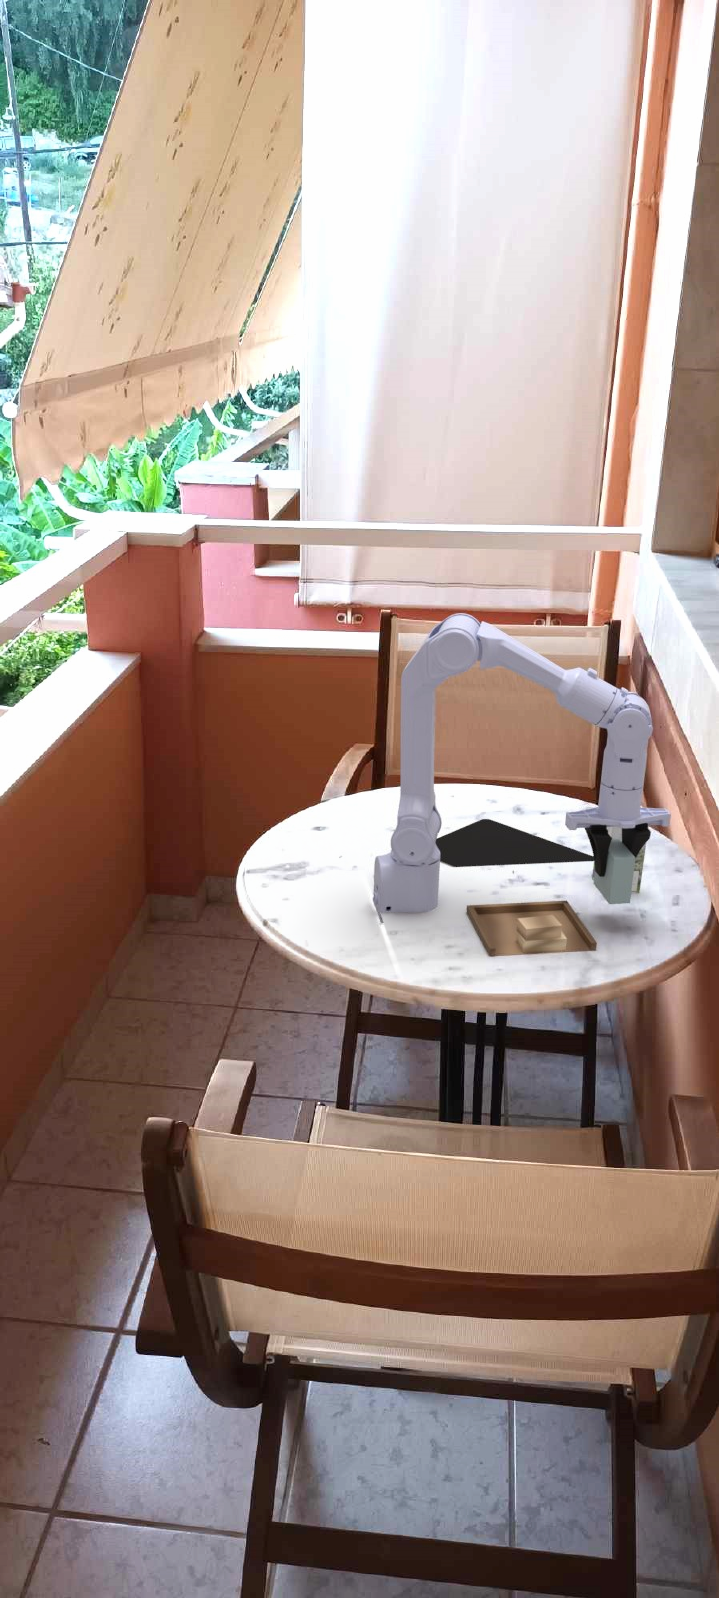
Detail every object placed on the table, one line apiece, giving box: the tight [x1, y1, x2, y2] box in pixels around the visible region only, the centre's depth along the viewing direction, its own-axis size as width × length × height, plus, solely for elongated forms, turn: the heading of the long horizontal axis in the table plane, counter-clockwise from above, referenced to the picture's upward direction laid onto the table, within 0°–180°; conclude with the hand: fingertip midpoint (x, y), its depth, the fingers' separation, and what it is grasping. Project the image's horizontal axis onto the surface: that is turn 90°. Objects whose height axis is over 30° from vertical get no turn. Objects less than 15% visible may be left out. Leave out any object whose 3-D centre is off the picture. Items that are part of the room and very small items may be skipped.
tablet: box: [435, 818, 594, 868], centre depth 188 cm, size 27×1×20 cm
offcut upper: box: [517, 915, 562, 941], centre depth 156 cm, size 5×3×2 cm, turn 105°
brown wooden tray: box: [466, 900, 598, 957], centre depth 161 cm, size 15×13×3 cm
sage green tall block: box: [593, 838, 635, 905], centre depth 161 cm, size 3×6×7 cm, turn 9°
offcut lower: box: [516, 931, 567, 953], centre depth 157 cm, size 6×3×2 cm, turn 99°
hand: (611, 873), depth 162 cm, fingers closed on sage green tall block, 3 cm apart
